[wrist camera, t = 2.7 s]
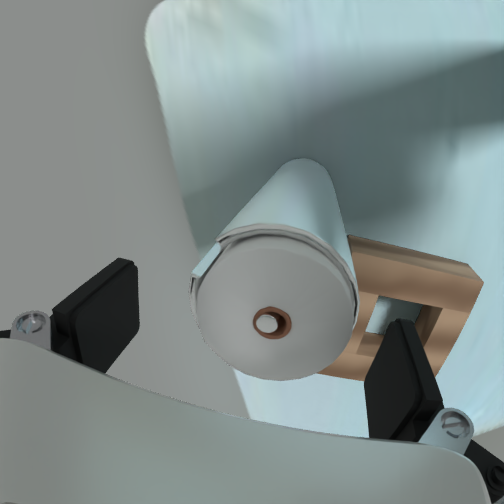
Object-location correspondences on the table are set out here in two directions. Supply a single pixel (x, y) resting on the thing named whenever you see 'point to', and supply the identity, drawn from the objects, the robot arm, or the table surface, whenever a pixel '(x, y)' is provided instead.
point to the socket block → (409, 289)
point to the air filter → (280, 279)
